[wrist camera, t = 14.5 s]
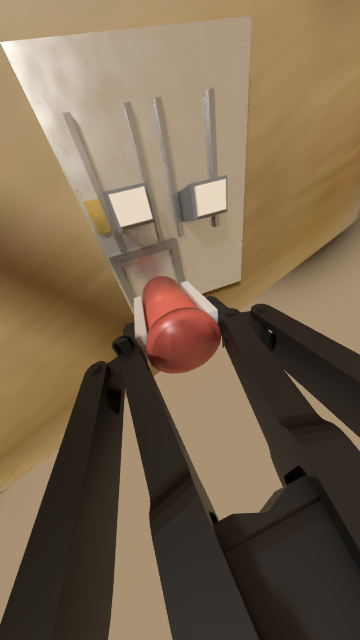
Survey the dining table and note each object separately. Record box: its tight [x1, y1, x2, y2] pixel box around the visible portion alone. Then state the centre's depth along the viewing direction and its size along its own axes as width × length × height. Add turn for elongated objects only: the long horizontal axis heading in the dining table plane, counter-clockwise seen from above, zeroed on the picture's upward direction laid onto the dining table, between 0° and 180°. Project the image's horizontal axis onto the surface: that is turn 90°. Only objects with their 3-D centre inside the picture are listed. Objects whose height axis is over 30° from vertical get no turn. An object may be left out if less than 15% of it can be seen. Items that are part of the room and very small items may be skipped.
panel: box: [0, 16, 252, 314], centre depth 19 cm, size 24×20×3 cm
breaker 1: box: [103, 182, 157, 232], centre depth 15 cm, size 3×4×4 cm
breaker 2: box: [179, 175, 228, 222], centre depth 16 cm, size 3×4×4 cm
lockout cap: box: [143, 276, 221, 373], centre depth 13 cm, size 5×5×9 cm
